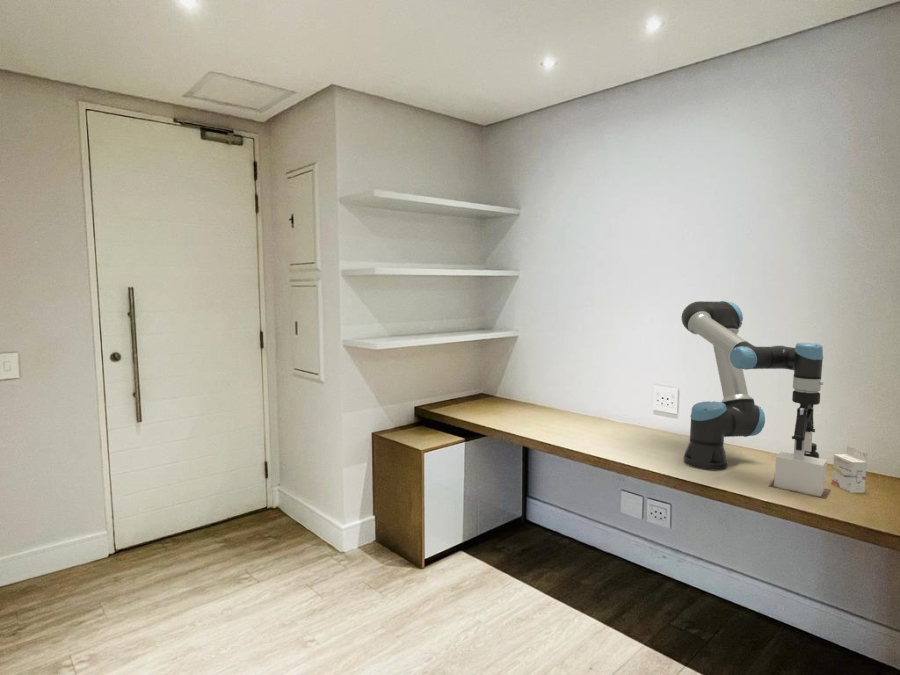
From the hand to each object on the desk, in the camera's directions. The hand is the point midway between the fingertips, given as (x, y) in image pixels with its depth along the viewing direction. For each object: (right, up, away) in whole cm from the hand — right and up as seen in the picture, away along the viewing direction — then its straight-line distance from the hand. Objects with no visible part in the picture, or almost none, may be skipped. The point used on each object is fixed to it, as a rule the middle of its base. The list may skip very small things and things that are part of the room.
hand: (802, 455), depth 179 cm
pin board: (0, -13, +2) cm, 13 cm away
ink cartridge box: (+16, -13, +2) cm, 21 cm away
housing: (0, -11, +1) cm, 11 cm away
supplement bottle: (+13, -11, +18) cm, 24 cm away
